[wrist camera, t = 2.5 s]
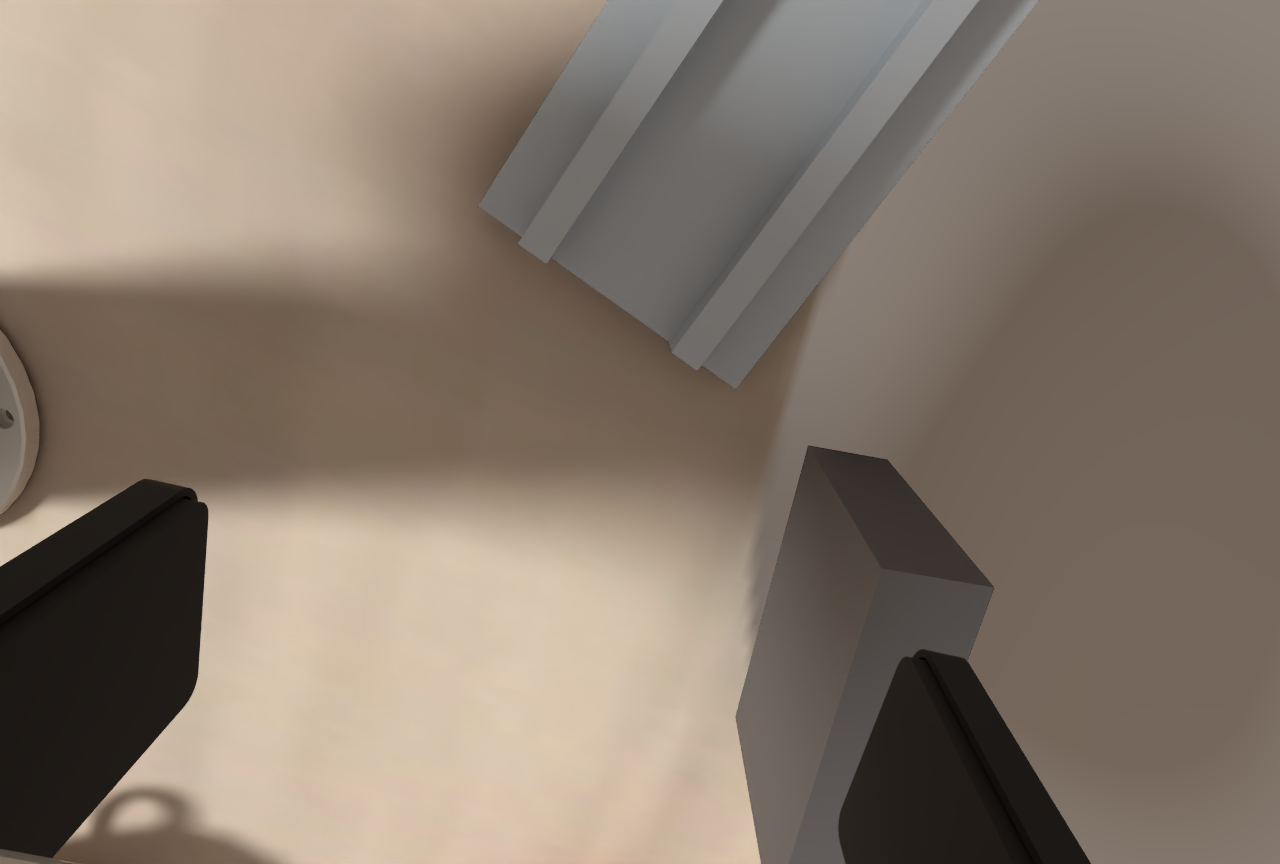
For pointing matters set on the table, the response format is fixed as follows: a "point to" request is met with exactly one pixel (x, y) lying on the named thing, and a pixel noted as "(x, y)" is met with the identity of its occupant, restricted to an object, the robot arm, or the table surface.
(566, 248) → the picture ledge
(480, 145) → the table surface
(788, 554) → the picture frame
